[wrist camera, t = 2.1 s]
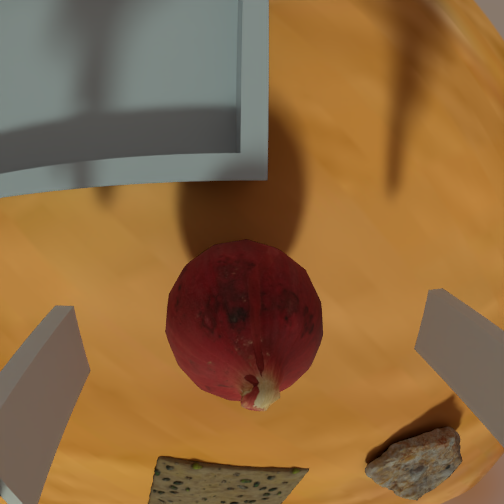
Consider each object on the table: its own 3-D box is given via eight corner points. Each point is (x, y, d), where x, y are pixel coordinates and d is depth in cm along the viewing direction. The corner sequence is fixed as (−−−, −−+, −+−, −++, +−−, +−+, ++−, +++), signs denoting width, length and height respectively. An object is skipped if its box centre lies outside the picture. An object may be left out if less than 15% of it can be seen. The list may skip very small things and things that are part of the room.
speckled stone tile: (262, 522, 24) (264, 529, 23) (144, 513, 22) (144, 520, 21) (311, 463, 21) (314, 472, 21) (157, 450, 19) (156, 460, 18)
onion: (161, 236, 14) (119, 324, 7) (285, 212, 15) (367, 273, 7) (189, 344, 16) (188, 470, 8) (298, 321, 17) (360, 432, 9)
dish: (-56, 203, 12) (-82, 212, 9) (-14, -53, 6) (-30, -66, 4) (256, 176, 14) (267, 180, 12) (258, -107, 9) (266, -131, 6)
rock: (461, 422, 24) (435, 415, 19) (481, 467, 19) (461, 476, 15) (394, 462, 27) (349, 463, 23) (408, 504, 22) (365, 519, 18)
